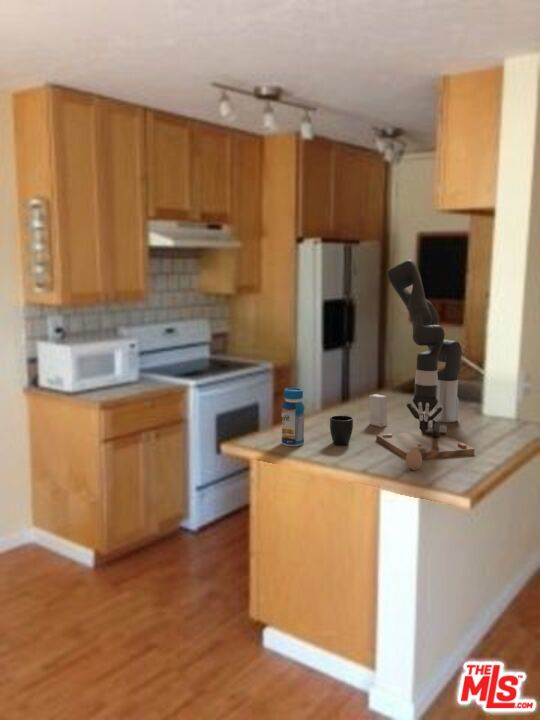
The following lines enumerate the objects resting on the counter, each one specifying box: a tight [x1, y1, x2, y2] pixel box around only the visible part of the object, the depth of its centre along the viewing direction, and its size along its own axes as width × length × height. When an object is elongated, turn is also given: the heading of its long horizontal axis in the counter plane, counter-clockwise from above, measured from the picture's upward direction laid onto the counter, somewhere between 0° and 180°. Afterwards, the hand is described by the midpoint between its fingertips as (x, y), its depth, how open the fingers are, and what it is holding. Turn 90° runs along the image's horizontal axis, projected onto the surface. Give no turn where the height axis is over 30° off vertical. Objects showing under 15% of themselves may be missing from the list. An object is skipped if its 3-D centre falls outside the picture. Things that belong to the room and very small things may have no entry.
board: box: [375, 430, 476, 460], centre depth 239 cm, size 25×25×3 cm
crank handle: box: [422, 420, 448, 440], centre depth 244 cm, size 22×9×8 cm, turn 168°
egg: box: [405, 449, 423, 471], centre depth 214 cm, size 5×5×7 cm
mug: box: [329, 414, 354, 447], centre depth 244 cm, size 8×12×10 cm
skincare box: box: [368, 393, 388, 428], centre depth 268 cm, size 6×4×12 cm
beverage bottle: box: [280, 387, 306, 447], centre depth 241 cm, size 8×8×20 cm
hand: (423, 431), depth 235 cm, fingers closed
